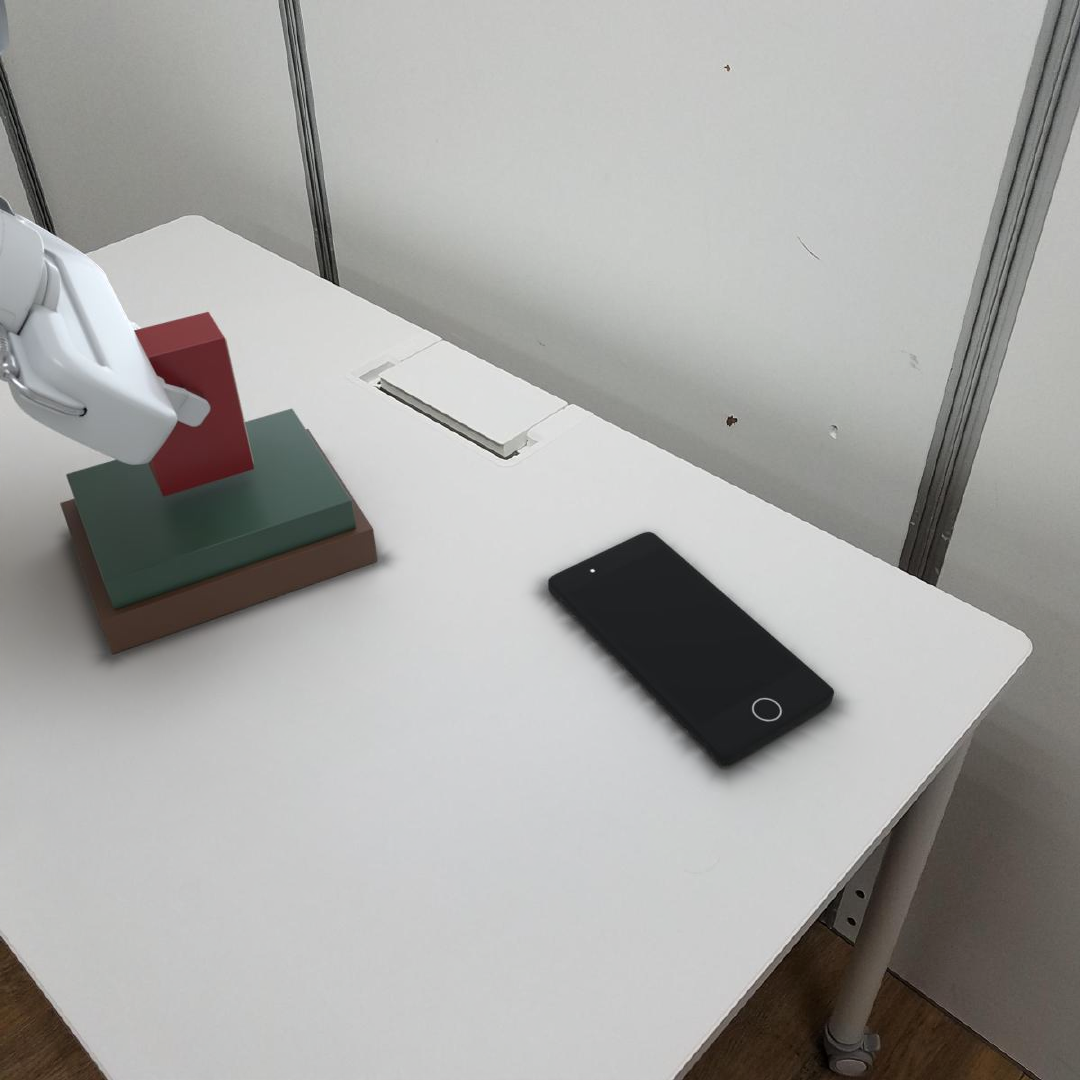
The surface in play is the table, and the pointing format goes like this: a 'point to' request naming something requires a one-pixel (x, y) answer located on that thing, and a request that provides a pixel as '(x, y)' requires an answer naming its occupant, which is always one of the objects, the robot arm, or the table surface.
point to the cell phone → (691, 646)
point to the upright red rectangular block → (205, 365)
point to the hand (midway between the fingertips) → (191, 391)
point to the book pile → (213, 535)
